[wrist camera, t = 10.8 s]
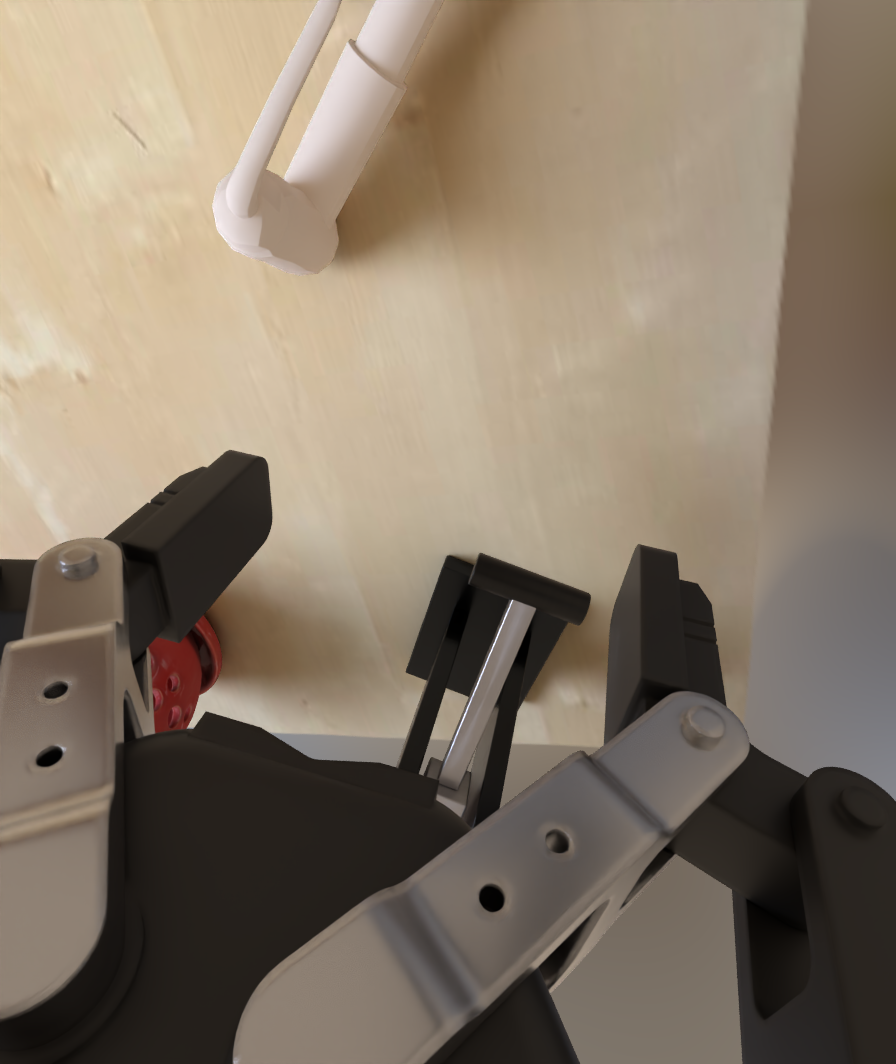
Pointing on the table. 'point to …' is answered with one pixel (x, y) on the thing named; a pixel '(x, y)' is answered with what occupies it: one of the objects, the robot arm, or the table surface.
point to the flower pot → (183, 675)
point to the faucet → (320, 138)
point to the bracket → (472, 677)
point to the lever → (499, 662)
